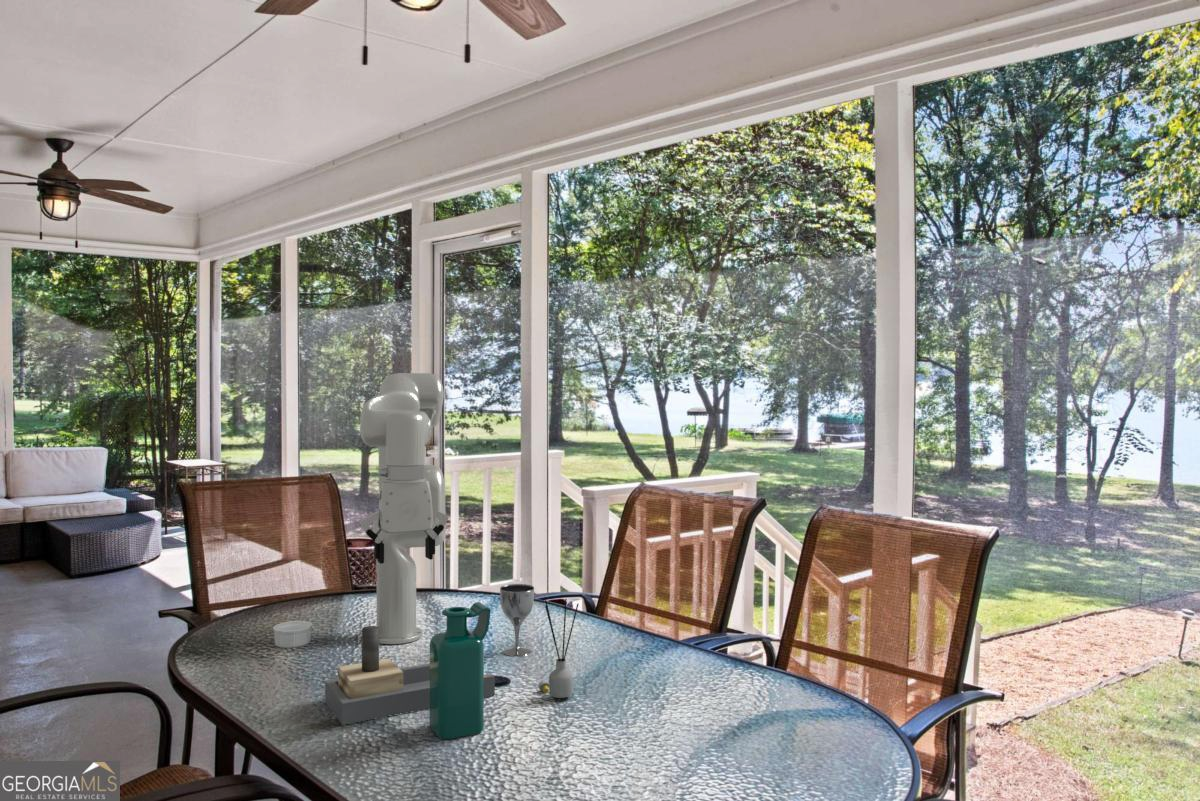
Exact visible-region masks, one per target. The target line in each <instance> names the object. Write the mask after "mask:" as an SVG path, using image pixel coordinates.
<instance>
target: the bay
mask: <svg viewBox="0 0 1200 801" xmlns="http://www.w3.org/2000/svg"><path fill="white" fill-rule="evenodd" d="M398 668H399V669H400V670H401V671H403V678H404V683H403V690H399V691H394V692H388V693H383V694H377V695H372V696H366V697H360V698H355V699H348V698H347V697H346V695H345V694H344V693H343V692H342V690H341V689H340V688H339V687H338V678H335V679H334V678H333V679H327V680H325V681H324V702H325V701H326V702H325V703H326V705H327V706H328V705H329V706H328V707H329V709H330V708H331V709H330V710H331V711H332V713H333V712H334V713H333V714H334V715H336V716H335V717H336V718H337V720H338V721H339V722H340V724H341V726H346V724H348V725H351V723H353V724H357V723H356V722H358V723H362V722H361V721H363V722H367V721H366V720H368V721H371V720H370V719H374V720H376V719H375V718H379V719H382V718H381V717H384V718H386V717H385V716H389V715H394V716H396V715H395V714H399V715H401V714H400V713H405V714H407V713H406V712H410V713H412V712H411V711H415V712H419V711H418V710H420V711H424V710H423V709H425V710H429V709H428V708H430V662H429V663H425V664H418V665H412V666H406V667H398ZM495 691H496V675H494V674H493V673H490V674H484V697H487V698H490V697H489V696H492V697H495V696H494V695H496V692H495ZM389 717H390V716H389Z"/></svg>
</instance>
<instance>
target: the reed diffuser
mask: <svg viewBox="0 0 1200 801" xmlns="http://www.w3.org/2000/svg"><path fill="white" fill-rule="evenodd" d="M544 602H545V606H544V608H545V610H546V616H547V618H548V623H549V627H550V632H551V635H552V639H553V642H554V646H555V650H556V654H557V659H556V660H555V661H556V662H555V663H556V665H555V667H556V668H555V669H554V670H552V671H551V672H550V673H549V675H548V680H542V681H541V682H539V684H538V689H539V691H541V692H542V693H543V694H547V693H549V696H551V697H553V698H558V699H559V698H561V699H562V698H568V697H570V696H572V695H573V683H574V681H573V680H574V679H573V678H574V677H573V674H572V672H571V671H570V670H569V669H567V668H566V667H567V666H566V665H567V664H566V661H567V660H566V655H567V652H568V647H569V643H570V641H571V635H572V631H573V628H574V624H575V620H576V616H577V613H578V608H579V603H577V604H576V607H575V612H574V616H573V620H572V624H571V628H570V631H569V635H568V639H567V644H566V647H565V639H566V638H565V635H566V621H567V620H566V617H567V616H566V615H567V598H565V599H564V617H563V634H562V636H563V637H562V639H563V640H562V654H561V656H562V658H560V655H559V649H558V645H557V641H556V636H555V633H554V631H555V630H554V629H553V628H554V627H553V623H552V619H551V615H550V610H549V607H548V601H547V597H546V596H544Z"/></svg>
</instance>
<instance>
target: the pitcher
mask: <svg viewBox="0 0 1200 801" xmlns="http://www.w3.org/2000/svg"><path fill="white" fill-rule="evenodd" d="M441 614H442V615H443V617H446V629H445V631H442V632H438V633H436V634H434V635H433V636H432V637H431V639H430V642H429V663H430V709H429V727H430V728H431V730H432V731H433V732H434V733H435V735H436V736H437V737H438V738H439V739H441V740H454V739H459V738H464V737H470V736H475V735H478V733H479V734H480V733H482V732H483V731H484V727H485V726H484V724H485V723H484V722H485V721H484V720H485V716H484V715H485V712H484V711H485V710H484V709H485V708H484V704H485V702H484V701H485V698H484V675H485V669H484V668H485V667H484V666H485V662H484V661H485V659H484V658H485V657H484V656H485V654H484V653H485V652H484V651H485V647H484V646H485V644H484V641H483V640H484V639H485V638H486V635H487V633H488V630H489V628H490V620H491V608H490V607H488V606H486V605H485V604H483V603H482V602H480V601H476V602H474V603H472V605H471V607H465V606H451V607H446V608H444V609H443V610H442V611H441ZM476 617H477V623H476V626H474V629H473V630H470V629H468V626H467V625H468V618H469V619H470V618H476Z"/></svg>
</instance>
